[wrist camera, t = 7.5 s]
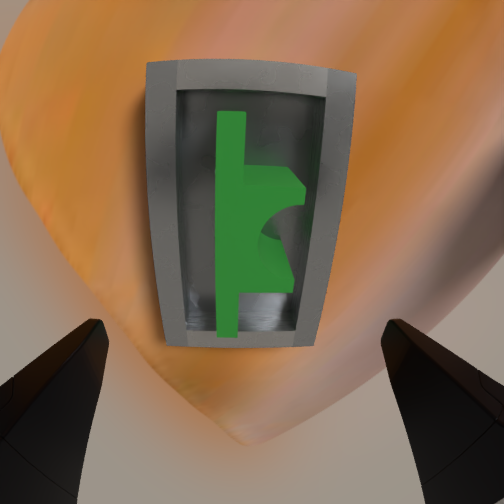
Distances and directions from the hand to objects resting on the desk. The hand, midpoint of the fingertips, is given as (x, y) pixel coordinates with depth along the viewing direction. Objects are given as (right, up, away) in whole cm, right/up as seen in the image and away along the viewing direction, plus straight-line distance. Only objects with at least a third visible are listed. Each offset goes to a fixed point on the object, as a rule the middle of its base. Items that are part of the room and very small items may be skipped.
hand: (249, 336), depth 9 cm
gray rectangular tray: (0, +5, +9) cm, 11 cm away
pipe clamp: (0, +5, +9) cm, 10 cm away
